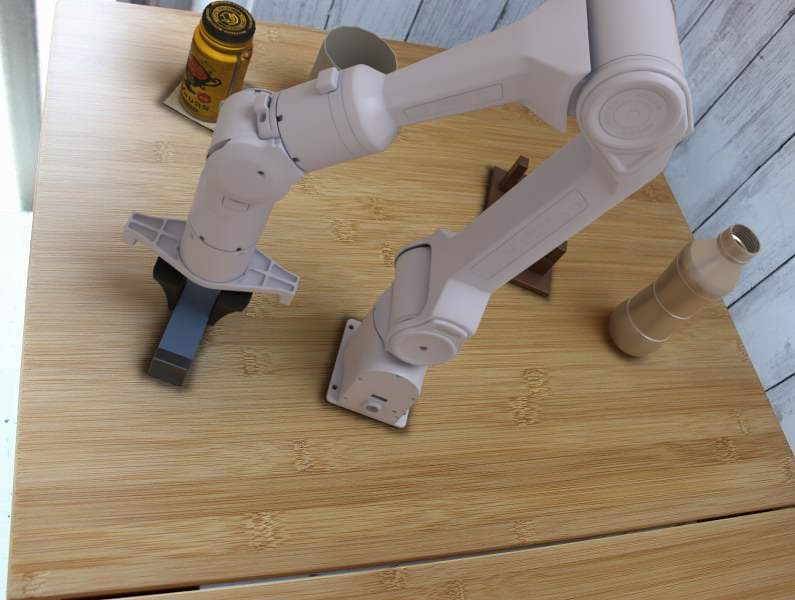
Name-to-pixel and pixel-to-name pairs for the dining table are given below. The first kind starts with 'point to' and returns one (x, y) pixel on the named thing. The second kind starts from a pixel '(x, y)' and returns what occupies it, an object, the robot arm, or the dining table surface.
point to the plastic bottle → (682, 290)
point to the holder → (541, 270)
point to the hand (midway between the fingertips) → (194, 309)
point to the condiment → (215, 62)
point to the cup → (354, 51)
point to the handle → (183, 333)
